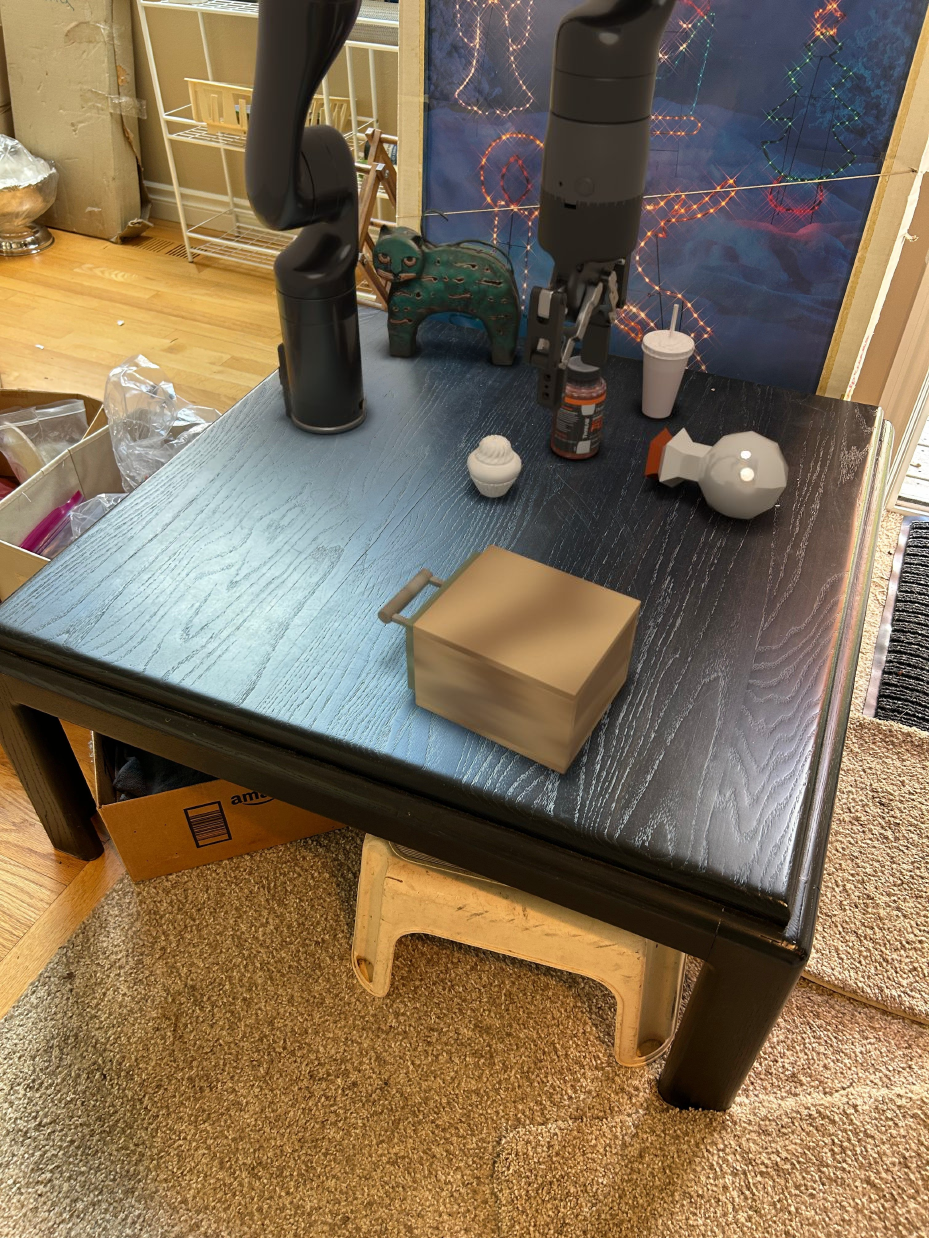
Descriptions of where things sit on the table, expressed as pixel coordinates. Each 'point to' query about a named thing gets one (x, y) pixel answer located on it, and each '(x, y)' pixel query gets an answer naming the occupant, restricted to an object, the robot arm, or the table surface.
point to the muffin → (494, 466)
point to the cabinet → (524, 655)
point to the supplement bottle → (579, 412)
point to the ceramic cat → (446, 287)
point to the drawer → (406, 596)
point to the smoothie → (664, 368)
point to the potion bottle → (723, 470)
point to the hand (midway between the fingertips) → (572, 384)
